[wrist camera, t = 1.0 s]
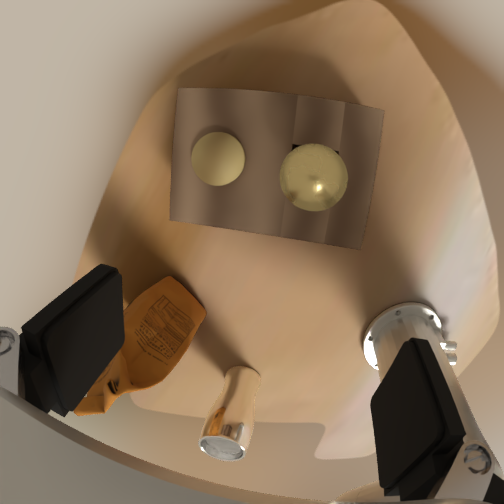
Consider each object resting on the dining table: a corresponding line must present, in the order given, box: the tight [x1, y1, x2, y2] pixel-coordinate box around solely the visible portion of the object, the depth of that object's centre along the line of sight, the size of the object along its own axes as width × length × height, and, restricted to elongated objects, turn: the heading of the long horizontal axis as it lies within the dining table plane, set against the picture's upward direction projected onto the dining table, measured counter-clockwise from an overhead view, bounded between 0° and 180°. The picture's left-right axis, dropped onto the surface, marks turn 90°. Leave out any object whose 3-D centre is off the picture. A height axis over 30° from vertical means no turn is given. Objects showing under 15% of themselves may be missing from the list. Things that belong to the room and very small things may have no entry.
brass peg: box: [279, 144, 348, 211], centre depth 26 cm, size 5×5×8 cm
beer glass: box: [198, 366, 261, 461], centre depth 42 cm, size 7×7×15 cm
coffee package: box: [74, 276, 206, 416], centre depth 37 cm, size 10×12×22 cm
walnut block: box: [170, 88, 384, 250], centre depth 32 cm, size 20×14×9 cm
